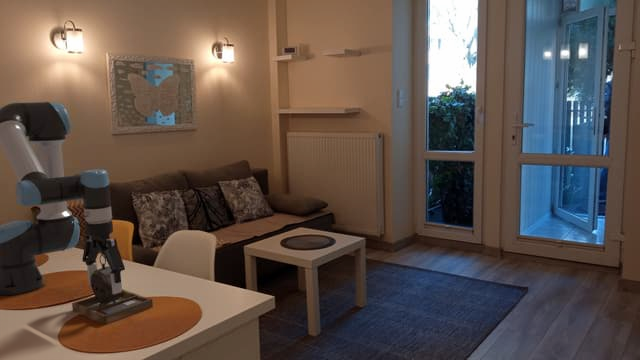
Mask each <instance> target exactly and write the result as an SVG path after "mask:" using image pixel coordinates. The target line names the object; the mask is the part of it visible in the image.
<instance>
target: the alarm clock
mask: <svg viewBox="0 0 640 360" xmlns="http://www.w3.org/2000/svg"><path fill="white" fill-rule="evenodd" d="M102 257H103V259H104V263H102V261H101V258H102ZM99 263H100V265H101V268H97V270H95V271H94V272H93V274H92V276H91V286H90V287H91V291H92V293H93V294H94V296H95V297H96V298H97V300H98V301H99V302H100V306H99V307H101V305H102V304H108V303H111V302H113V303H115V302H116V300H118V299H119V298H120V296H121V292H120V293H117V294H112V284H111V274H110V272H111V271H112V270H111V268H110V266H109V265H108V266H105V265H106V264H107V260H106V258H105V256H104V255H102V254H101V255H99Z"/></svg>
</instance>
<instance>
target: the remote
mask: <svg viewBox="0 0 640 360" xmlns="http://www.w3.org/2000/svg"><path fill="white" fill-rule="evenodd" d="M138 303H141V301H138V300H135V299H134V300H131V301H128V302H125V303H122V304H119V305H117V306H114V307H111V308H108V309H105V310H102V311H101V313H102V314H104V315H106V314H109V313H112V312H115V311H118V310H121V309H123V308H126V307H129V306H132V305H135V304H138Z"/></svg>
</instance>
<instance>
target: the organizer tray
mask: <svg viewBox="0 0 640 360" xmlns="http://www.w3.org/2000/svg"><path fill="white" fill-rule="evenodd" d="M134 299H135V300H138V301H141V303H138V304H135V305H132V306H129V307H126V308H123V309H121V310H118V311H115V312H112V313H109V314H106V315H104V314H102V313H101V311H102V310H105V309H108V308H111V307H114V306H117V305H119V304H122V303H125V302H128V301H131V300H134ZM71 306H72V311H73V312H74V313H77V314H79V315H81V316H84V317H87V318H89V319H91V320H93V321H95V322H97V323H100V324H103V325H108V324H110V323H114V322H115V321H116V322H117V321H118V320H121V319H125V318H126V317H130V316H133V315H135V314H138V313H141V312H143V311H146V310H149V309H152V308H154V304H153V299H152V298H149V297H145V296H143V295H140V294H137V293H135V292H131V291H128V290H126V289H122V292H121V296H120V298H119V299H118V300H116V302H115V303H113V302H111V303H108V304H102V305H101V307H99V306H100V302H99V301H98V300H97V298H96V297H95V295H94V296H91V297H87V298H83V299H81V300H77V301H75V302H72V303H71Z"/></svg>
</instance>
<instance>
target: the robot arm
mask: <svg viewBox="0 0 640 360" xmlns="http://www.w3.org/2000/svg"><path fill="white" fill-rule="evenodd" d="M71 127H72V126H71V119H70V115H69V113H68V111H67V109H66V107H65V106H64V105H63V104H62V103H60V102H54V101H53V102H52V101H43V102H41V101H40V102H11V103H8V104H6V105H3V106H1V107H0V145H1V147H2V150H3V152H4V153H5V156H6V158H7V160H8V162H9V164H10V167H11V168H12V170H13V172H14V174H15V177H16V178H17V181H18V182H16V184H15V188H14V189H15V198H16V200H17V203H18V205H20V206H21V207H33V206H34V207H37V206H40V208H39V209H40V213H38V214H37V215H36V222H32V221H31V220H30V219H20V220H15V221H10V222H8V223H4V224H2V225H0V296H13V295H20V294H24V293H29V292H32V291H35V290H38V289H39V288H41V287H43V286H44V277H43V275H42V273H41V271H40V269H39V267H38V265H37V262H36V256H40V255H44V254H45V255H46V254H51V253H55V252H60V251H61V252H63V251H66V250H69V249H73V248H74V247H76V246H77V245H78V242H79V239H80V235H81V234H80V232H81V231H80V230H81V229H80V225H79V220H78V218H77V217H75V216H73V212H71V211H70V210H69V209H68V204H67V202H71V201H77V200H82V201H83V211H84V212H83V216H84V220H85V222H86V223H85V232H86V234H85V235H84V238H85V241H84V249H83V254H82V259H81V260H82V263H85V265H86V266H87V267H86V268H87V279H88V286H89V287H92V286H91V276H92V274H93V272H94V271H95V270H98V264H97V258H98V255H99V254H101V255H104V256H105V258H106V263H107V264H108V266H109V267H110V268H111V270H112V271H111V272H110V274H111V284H112V294H117V293H120V292H122V288H123V286H122V274H121V272H123V271H125V270H126V267H125V264H124V262H123V259H122V255H121V253H120V250H119V247H118V242H117V239H116V237H114V238H111V236H110V234H112V233H113V232H114V226H113V225H114V223H113V221H112V219H113V214H112V213H113V212H112V205H111V204H112V203H111V193H110V192H111V191H110V190H111V189H110V179H109V173H108V171H107V170H105V169H89V170H83V171H82V172H81V173H76V174H73V175H68V176H65V172H64V171H65V170H64V161H63V160H64V159H63V148H62V145H63V143H64V142H65V141H66V136H67V135H69V134H70V133H71ZM30 143H31V144H30ZM32 145H33V146H34V149H33V147H32Z"/></svg>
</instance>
